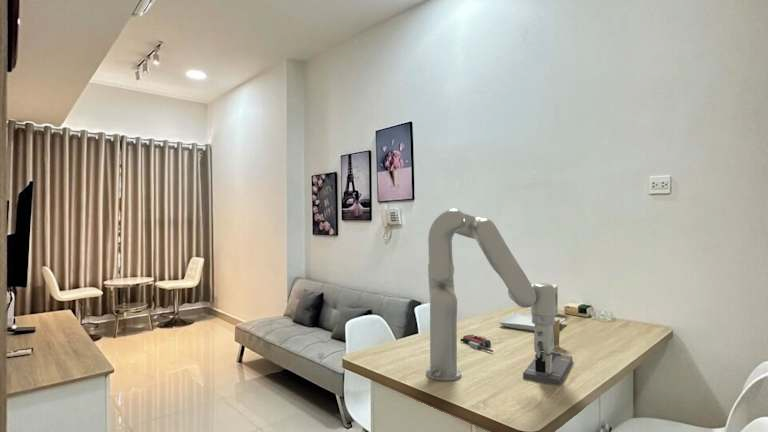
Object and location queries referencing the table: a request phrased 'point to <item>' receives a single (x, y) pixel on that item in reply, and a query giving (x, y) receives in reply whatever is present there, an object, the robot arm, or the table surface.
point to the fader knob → (547, 363)
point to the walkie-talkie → (477, 342)
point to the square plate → (521, 321)
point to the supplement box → (555, 298)
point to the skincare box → (556, 333)
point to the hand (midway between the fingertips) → (543, 367)
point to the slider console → (558, 370)
